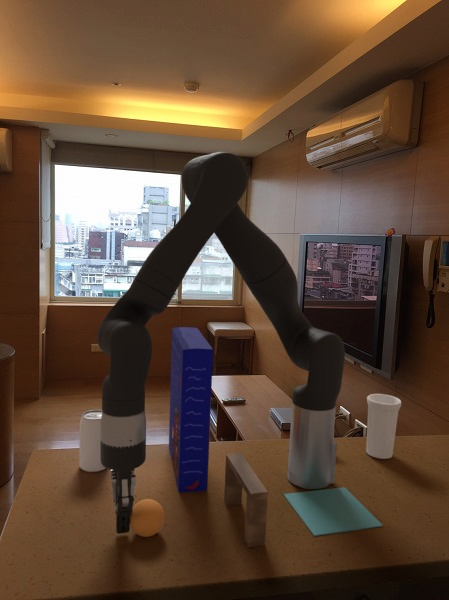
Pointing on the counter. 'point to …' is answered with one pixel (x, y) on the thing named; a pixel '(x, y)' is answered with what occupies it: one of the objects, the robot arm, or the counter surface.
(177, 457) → the cereal box
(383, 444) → the cup
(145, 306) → the robot arm
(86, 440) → the can
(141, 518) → the ball
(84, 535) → the counter surface
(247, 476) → the bridge
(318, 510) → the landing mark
